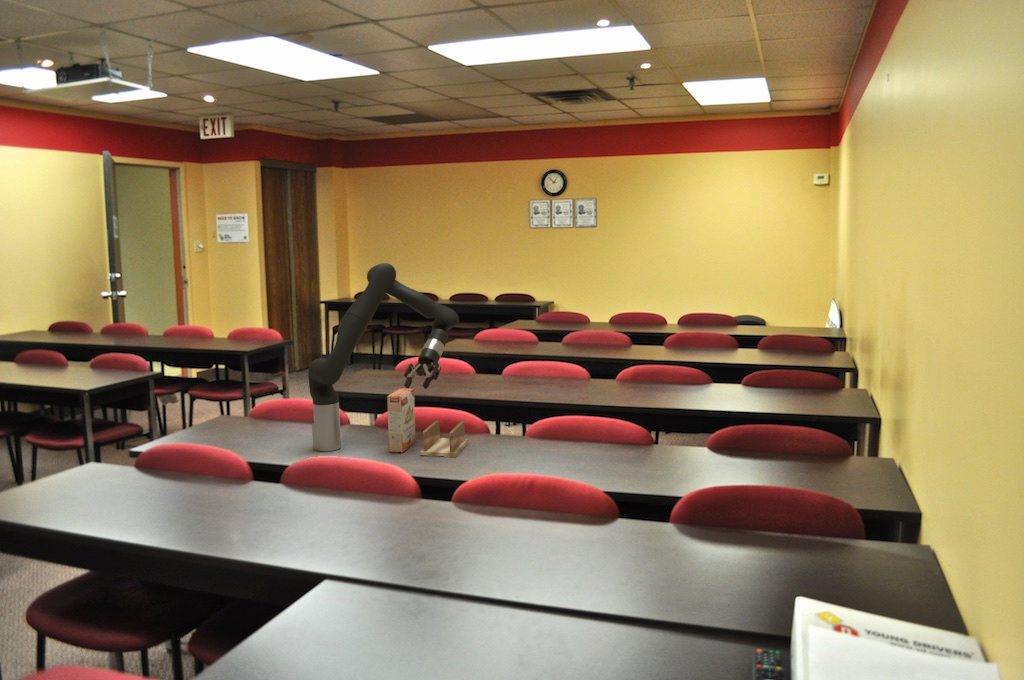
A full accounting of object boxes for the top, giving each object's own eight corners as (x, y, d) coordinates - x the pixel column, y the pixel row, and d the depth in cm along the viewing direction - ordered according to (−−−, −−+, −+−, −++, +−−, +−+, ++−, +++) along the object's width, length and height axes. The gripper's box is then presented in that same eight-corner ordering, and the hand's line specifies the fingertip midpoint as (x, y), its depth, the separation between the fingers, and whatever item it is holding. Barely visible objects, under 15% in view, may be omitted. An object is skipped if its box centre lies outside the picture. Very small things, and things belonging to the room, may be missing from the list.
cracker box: (404, 453, 276) (402, 396, 273) (388, 452, 277) (385, 395, 274) (416, 442, 290) (414, 387, 286) (401, 441, 291) (399, 387, 288)
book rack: (419, 455, 273) (418, 432, 271) (434, 441, 290) (434, 419, 289) (455, 457, 270) (454, 433, 269) (468, 442, 288) (467, 420, 286)
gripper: (411, 347, 297) (395, 381, 288) (441, 346, 290) (425, 381, 281) (421, 359, 302) (405, 393, 293) (451, 359, 295) (435, 393, 286)
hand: (415, 387), depth 287 cm, fingers open, 8 cm apart
